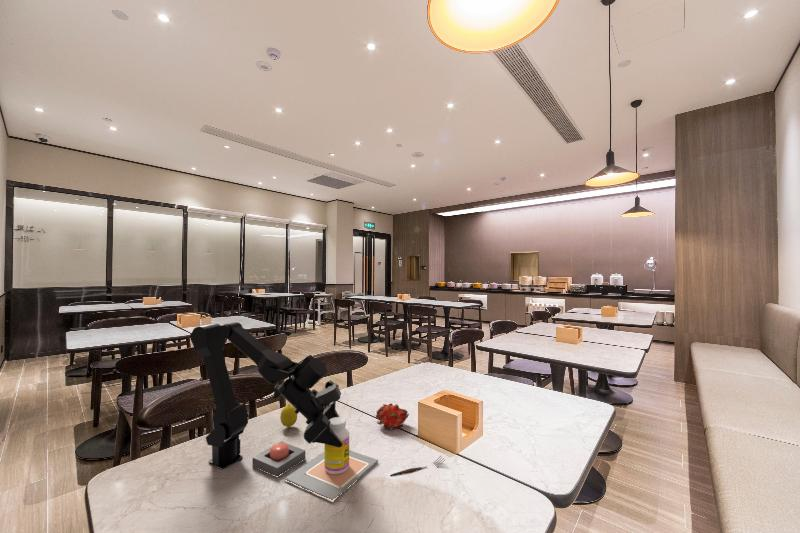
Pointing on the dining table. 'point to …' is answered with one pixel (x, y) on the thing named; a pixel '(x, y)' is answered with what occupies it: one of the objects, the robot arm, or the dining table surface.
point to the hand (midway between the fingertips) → (342, 436)
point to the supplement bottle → (337, 448)
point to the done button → (279, 451)
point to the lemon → (288, 416)
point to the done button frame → (279, 467)
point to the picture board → (331, 475)
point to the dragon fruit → (391, 416)
